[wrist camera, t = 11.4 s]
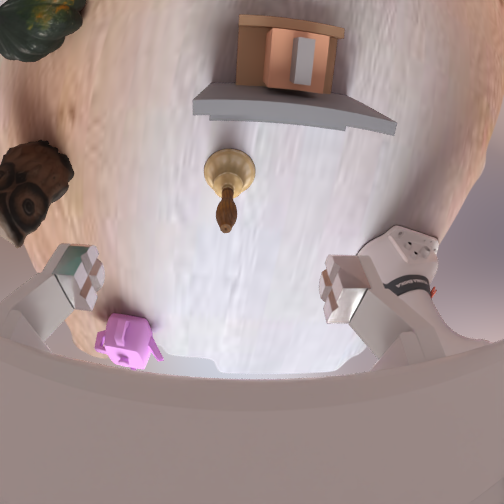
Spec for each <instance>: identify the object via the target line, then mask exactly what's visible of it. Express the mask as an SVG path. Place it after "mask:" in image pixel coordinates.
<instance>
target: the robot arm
mask: <svg viewBox="0 0 504 504" xmlns="http://www.w3.org/2000/svg"><path fill="white" fill-rule="evenodd" d="M437 251H438V240H437V239H436V238H434V237H431V236H428V235H426V234H423V233H420V232H417V231H414V230H410V229H407V228H404V227H401V226H398V225H396V226H393V227H392V228H391V229H389V230H388V231H387V232H386V233H385V234H383V235H382V236H380V237H377V238H375V239H374V240H372V241H370V242H369V243H368V244H366V245H365V246H364V247H363V248H362V249H361V250H360V252H359V253H358V255H355V256H354V255H328V257H327V258H326V261H325V265H326V269H325V270H324V271H323V272H322V273H321V277H320V281H319V293H320V297H321V299H322V300H323V301H324V302H325V305H324V307H323V310H324V314H325V318H326V322H327V324H331V323H349V325H350V326H351V328H352V329H353V330H354V331H355V332H356V334H357V335H358V336H359V337H360V338H361V339H362V341H363V342H364V343H365V344H366V345H367V347H368V348H369V349H370V350H371V351H372V352H373V354H374V355H375V356H376V357H377V358H378V361H377V362H376V364H374V366H373V367H372V368H371V369H370V371H369V372H363V373H355V374H346V375H338V376H326V377H312V378H295V379H219V378H202V377H189V376H178V375H167V374H159V373H151V372H144V371H137V370H129V369H124V368H118V367H112V366H107V365H102V364H97V363H92V362H87V361H83V360H78V359H74V358H70V357H66V356H62V355H58V354H55V353H52V352H51V350H50V348H49V347H48V346H47V345H46V344H45V340H46V339H47V338H48V337H49V336H50V335H51V334H52V333H53V332H54V331H55V329H56V328H57V327H58V326H59V325H60V324H61V323H62V322H63V321H64V320H65V319H66V318H67V317H68V316H69V315H70V314H71V313H72V312H73V311H74V309H77V310H85V311H92V310H93V307H94V305H95V302H96V300H97V298H98V297H97V294H96V292H97V291H98V290H99V289H101V288H102V285H103V283H104V277H105V271H104V267H103V264H102V262H101V261H100V260H99V259H97V257H98V255H99V253H98V250H97V248H96V246H94V245H85V244H66V243H62V244H60V245H59V246H58V247H57V249H56V250H55V252H54V253H53V255H52V256H51V258H50V259H49V261H48V263H47V264H46V266H45V267H44V269H43V271H42V272H41V273H37V274H36V275H35V276H33V277H32V278H30V279H29V280H28V281H26V282H25V283H24V284H23V285H21V286H20V287H19V288H17V289H16V290H15V291H14V292H12V293H11V294H10V295H8V296H7V297H6V298H5V299H3V300H2V301H1V302H0V504H504V339H502V340H500V341H497V342H494V343H492V342H490V341H488V340H483V339H471V338H467V337H464V336H461V335H459V334H457V333H456V332H454V331H453V330H452V329H451V328H450V327H449V326H448V325H447V324H446V323H445V322H444V320H443V319H442V317H441V315H440V314H439V312H438V310H437V309H436V307H435V305H434V304H433V301H432V297H433V295H434V294H435V292H436V291H437V290H435V291H434V289H435V287H433V289H432V290H431V292H430V283H431V281H432V279H433V278H434V276H435V274H436V272H437V269H438V259H437V256H436V253H437ZM433 292H434V293H433Z"/></svg>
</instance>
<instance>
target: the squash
mask: <svg viewBox="0 0 504 504" xmlns="http://www.w3.org/2000/svg"><path fill="white" fill-rule="evenodd" d="M85 4H86V0H8V1H6V2H5V3H4V4H2V5H1V6H0V54H2V56H3V57H4V58H6V59H9V60H19V61H22V62H36V61H38V60H40V59H41V58H43V57H45V56H46V55H48V54H49V53H51V52H53V51H55V50H56V49H58V48H59V47H60V46H61V45H62V44H63V42H64V40H65V36H67V35H69V34H72V33H74V32H75V31H77V30H78V29H79V28H80V27H81V25H82V22H83V21H82V16H81V14H80V13H79V12H80V11H81V10H82V9H83V8H84V6H85Z"/></svg>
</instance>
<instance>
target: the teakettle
mask: <svg viewBox="0 0 504 504" xmlns="http://www.w3.org/2000/svg"><path fill="white" fill-rule="evenodd" d="M104 340H105V343H104ZM103 344H104V346H105V347H103ZM95 350H96V351H97V352H100V353H104V354H107V355H108V356H109V358H110V359H111V360H112V361H113V363H114V364H117V365H122V366H125V367H130V368H131V370H136V368H137V369H144V368H145V366H146V364H147V362H148V359H149V356H150V354H151V352H152V353H153V355H154V356H155V358H156V359H157V361H164V359H163V357H162V355H161V353H160V351H159V349H158V347H157V345H156V343H155V341H154V339H153V337H152V331H151V328H150V325H149V323H148V321H147V320H146V319H145V318H141V317H136V316H130V315H124V314H117V313H112V314H111V316H110V317H109V319H108V322H107V326H106V330H104V331H101V332H98V333H97V338H96V343H95Z"/></svg>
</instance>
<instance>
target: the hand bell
mask: <svg viewBox="0 0 504 504" xmlns="http://www.w3.org/2000/svg"><path fill="white" fill-rule="evenodd" d="M204 176H205V179H206V181H207V183H208V185H209V186H210V187H211V188H212V189H213V190H214V191H215V193H216V194H217V195H218V196H219V197H221V198H222V200H221V202H220V203H219V205H218V207H217V211H216V219H217V223H218V225H219V227H220V230H221V231H222V232H223V233H229V232H230V231H231V229H232V227H233V225H234V224H235V222H236V219H237V209H236V205H235V203H234V201H233V198H235V197H237V196H239V195H240V194H241V192H243V191H245V190H246V189H247V188H249V187H250V185H251V184H252V182H253V180H254V178H255V166H254V163H253V161H252V160H251V158H250V157H249V156H248V155H247V154H245V153H244V152H242V151H240V150H236V149H223V150H219V151H217V152H215V153H214V154H213V155H211V156H210V157H209V159H208V160H207V162H206V164H205V167H204Z"/></svg>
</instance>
